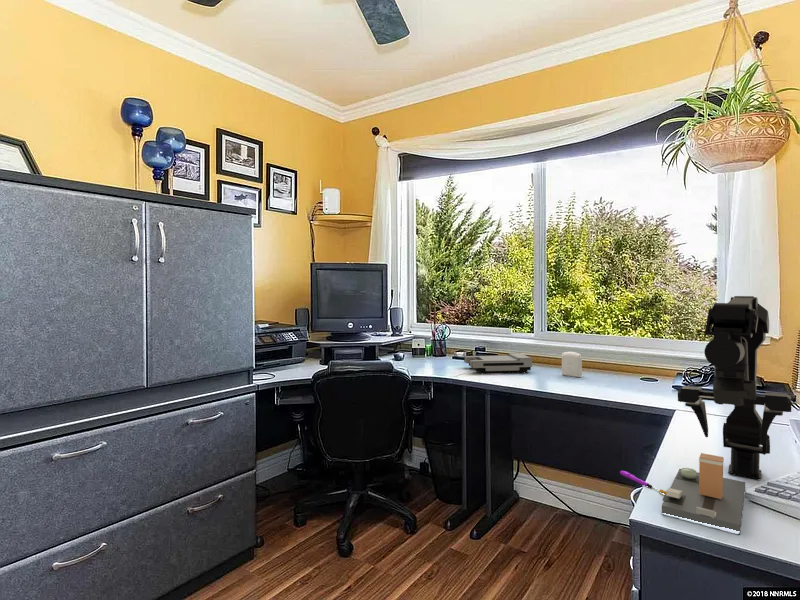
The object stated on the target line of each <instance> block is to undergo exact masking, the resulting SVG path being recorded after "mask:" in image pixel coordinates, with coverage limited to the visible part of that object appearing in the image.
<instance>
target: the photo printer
mask: <svg viewBox="0 0 800 600" xmlns="http://www.w3.org/2000/svg"><path fill="white" fill-rule="evenodd" d="M582 364H583V358H582V355H581V354H580V353H578V352H575V351H565V352H562V354H561V375H562V376H567V377H574V378H581V377H582V375H583V365H582Z"/></svg>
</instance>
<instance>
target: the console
mask: <svg viewBox="0 0 800 600" xmlns="http://www.w3.org/2000/svg"><path fill="white" fill-rule="evenodd" d="M669 488H672V489H676V490H680V491H682V496H681V497H680V498H675V497H670V496H666V493H665V495H663V497H662V500H661V501H662V503H661V514H662V513H666V514H670V515H674V516H678V517H682V518H687V519H691V520H694V521H698V522H702V523H707V524H711V525H715V526H719V527H725V528H729V529H733V530H736V531H740V532H741V530H740V527H742V522H741V519H742V520H743V514H742V511H743V512H744V505H743V503H745V497H744V492H745V493H746V482H745V481H743V480H742V481H741V480H736V479H732V478H728V477H723V495H722V499H718V498H714V497H709V496H705V495H701V494H699V471H696V478H695V479H689V478H685V477H683V476H681V468H679V469H678V471H677V473H676V475H675V476H674V479H673V481H672V483H671V486H670V487H669Z"/></svg>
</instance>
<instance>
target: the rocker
mask: <svg viewBox="0 0 800 600" xmlns="http://www.w3.org/2000/svg"><path fill="white" fill-rule="evenodd" d="M665 491H666V496H670V497H675V498H680V497H681V496H682V491H680V490H676V489H672V488H670V487H668V488H667V489H666V490H665Z"/></svg>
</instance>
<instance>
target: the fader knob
mask: <svg viewBox="0 0 800 600" xmlns="http://www.w3.org/2000/svg"><path fill="white" fill-rule="evenodd" d="M724 460H725V459H724V456H719V455H715V454H714V455H713V454H707V453H703V452H701V453H700V454H699V457H698V463H699V464H698V466H699V467H698V468H699V470H698V472H699V494H701V495H705V496H709V497H714V498H718V499H722V495H723V478H724Z"/></svg>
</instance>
